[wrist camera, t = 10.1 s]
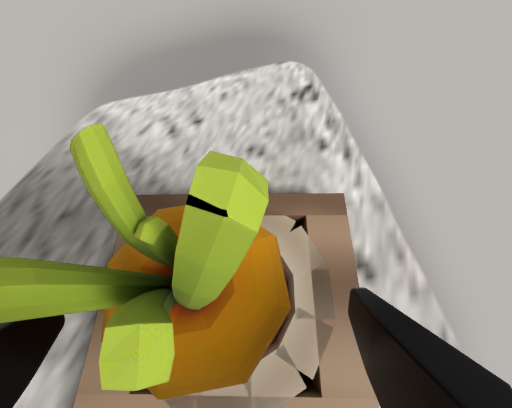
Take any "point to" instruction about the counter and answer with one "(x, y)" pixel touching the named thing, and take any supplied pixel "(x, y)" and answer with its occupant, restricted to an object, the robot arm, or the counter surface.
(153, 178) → the counter surface
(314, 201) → the hole board
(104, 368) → the carrot
